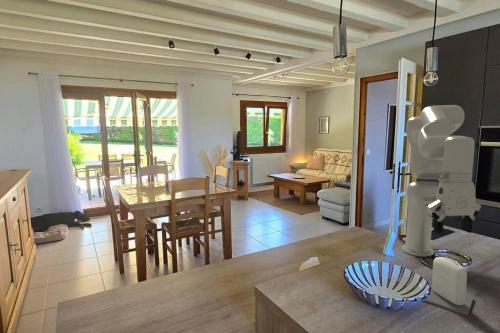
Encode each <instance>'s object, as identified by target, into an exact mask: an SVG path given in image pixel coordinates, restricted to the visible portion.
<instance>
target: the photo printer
mask: <svg viewBox="0 0 500 333" xmlns="http://www.w3.org/2000/svg"><path fill="white" fill-rule="evenodd" d="M467 276H468V272H467V270H466V268H465V267H464V266H462V265H461V263H458V262H457V261H455V260H453V259H451V258H449V257H445V256H437V257H435V258H434V259H433V263H432V279H431V280H432V281H431V282H432V283H431V285H432V290H433V291H434V292H436V293H437V294H439V295H440V296H442V297H443V298H445V299H447V300H448V301H450V302H452V303H453V304H456V305H464V303H465V302H466V295H467V280H468V277H467Z"/></svg>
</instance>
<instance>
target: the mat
mask: <svg viewBox="0 0 500 333" xmlns="http://www.w3.org/2000/svg"><path fill="white" fill-rule="evenodd" d="M429 286H430V287H431V293H430V295H429V297H428V298H427V299H426V300H425V301H423V302H425V303H427V304H430V305H433V306H437V307H439V308H442V309H445V310H447V311H451V312H454V313H457V314H460V315H463V316H465V317H469V314H470V311H471V308H472V305H473V302H474V296H471V295H468V294H466V302H465V303H464V305H456V304H453V303H452V302H450V301H448V300H447V299H445V298H443V297H442V296H440V295H439V294H437V293H436V292H434V291H433V290H432V284H429Z"/></svg>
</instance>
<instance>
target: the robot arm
mask: <svg viewBox="0 0 500 333" xmlns="http://www.w3.org/2000/svg"><path fill="white" fill-rule="evenodd" d="M464 121H465V111H464V109H463V107H461V106H459V104H458V105H457V104H446V105H445V104H443V105H440V104H439V105H430V106H426V107H425V108H423V109H422V111H421V112H420V115H419V116H413V117H410V118H409V119H407V121H406V125H405V131H406V137H407V139H408V143H409V146H410V173H411V176H412V177H413V178H415V179H421V180H423V179H424V180H429V179H430V180H438V182H436V181H433V182H432V181H413V182H410V183H409V184H408V185H407V187H406V196H407V221H406V224H407V225H406V235H405V237H402V241H403V242H404V244H403V245H402V246H401V250H402V251H403V252H404V253H407V254H409V255H411V256H416V257H421V258H422V257H423V258H426V257H427V256H429V257H432V256H431V255H433V254H434V255H435V250H434V249H432V248H431V245H432V244H431V241H432V228H433V232H434V233H437V234H438V235H443V234H444V221H443V220H444V219H445V218H446V216H448V217H462V216H463V217H462V218H461V228H460V229H461V230H462V231H463V232H466V233H469V234H470V233H472V232H473V224H474V223H473V222H474V221H475V220H476V216H478V215H479V211H480V210H481V208H482V205H481V204H479V203H478V202H476V188H475V187H476V186H475V184H474V182H472V180H473V167H474V155H475V154H474V153H475V144H476V143H475V140H474V138H472V137H470V136H465V135H452V134H453V133H455V132H456V131H457V130H458V129H459V128H460V127H461V126H462V125H463V123H464ZM427 205H428V206H427ZM432 226H433V227H432ZM434 255H433V256H434ZM427 258H428V257H427Z"/></svg>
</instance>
